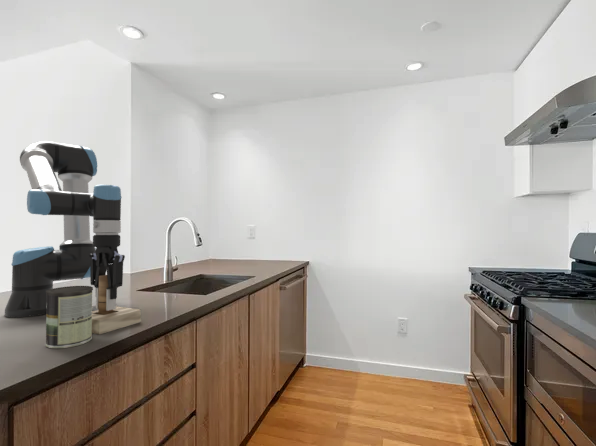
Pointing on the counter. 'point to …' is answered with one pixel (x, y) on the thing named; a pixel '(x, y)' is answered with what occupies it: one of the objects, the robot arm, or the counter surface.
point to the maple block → (115, 319)
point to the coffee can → (68, 316)
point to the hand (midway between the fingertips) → (105, 308)
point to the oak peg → (103, 295)
